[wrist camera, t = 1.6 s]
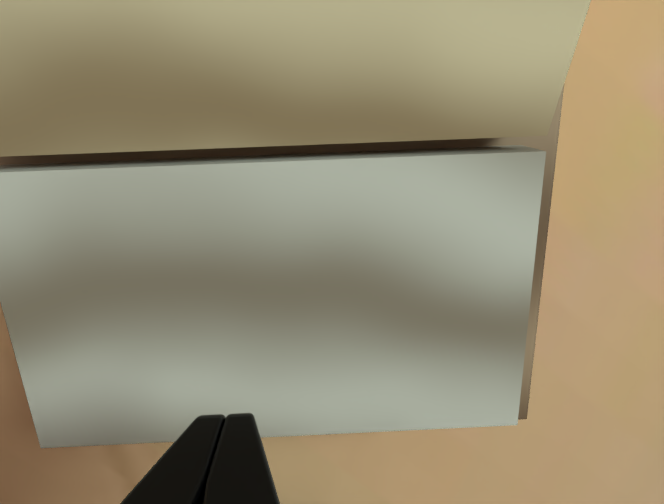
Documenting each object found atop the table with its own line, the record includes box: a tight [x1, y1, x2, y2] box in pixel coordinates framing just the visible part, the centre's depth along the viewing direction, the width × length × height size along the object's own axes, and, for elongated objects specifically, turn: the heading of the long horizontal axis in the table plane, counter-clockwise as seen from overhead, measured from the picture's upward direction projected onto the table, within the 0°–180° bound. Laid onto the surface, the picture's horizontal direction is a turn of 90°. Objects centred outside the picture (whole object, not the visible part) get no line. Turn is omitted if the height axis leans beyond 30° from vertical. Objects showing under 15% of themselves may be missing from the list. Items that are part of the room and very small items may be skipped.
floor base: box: [0, 85, 564, 448], centre depth 14 cm, size 24×16×6 cm, turn 2°
